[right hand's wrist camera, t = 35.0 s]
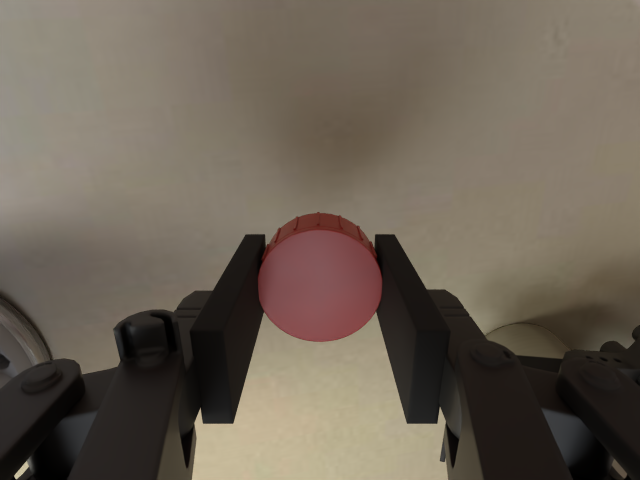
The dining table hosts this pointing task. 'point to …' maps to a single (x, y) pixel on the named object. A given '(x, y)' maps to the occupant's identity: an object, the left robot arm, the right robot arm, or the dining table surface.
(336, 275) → the cap
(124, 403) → the right robot arm
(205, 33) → the dining table surface
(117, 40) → the dining table surface
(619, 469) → the bottle
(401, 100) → the dining table surface
